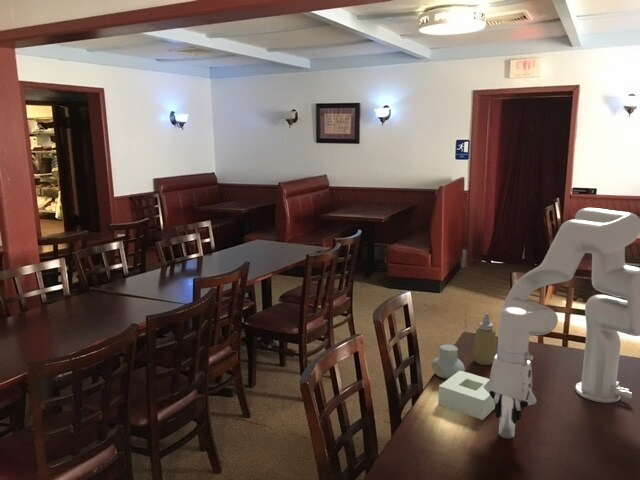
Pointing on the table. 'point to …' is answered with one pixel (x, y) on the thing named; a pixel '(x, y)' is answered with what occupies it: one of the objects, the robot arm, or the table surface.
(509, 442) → the table surface
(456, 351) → the air freshener
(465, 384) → the socket block
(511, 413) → the steel peg
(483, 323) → the squeeze bottle
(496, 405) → the robot arm
